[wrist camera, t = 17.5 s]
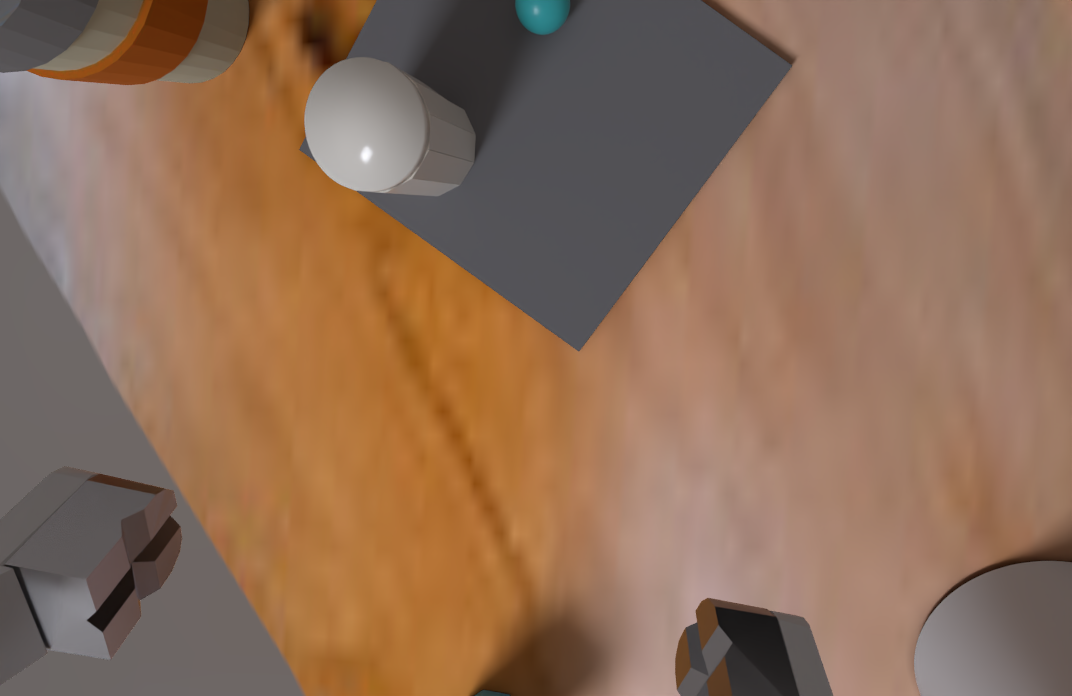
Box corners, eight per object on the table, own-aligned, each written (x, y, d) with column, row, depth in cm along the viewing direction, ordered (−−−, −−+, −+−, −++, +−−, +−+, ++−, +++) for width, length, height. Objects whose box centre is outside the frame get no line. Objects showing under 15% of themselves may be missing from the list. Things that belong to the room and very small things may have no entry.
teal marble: (583, 3, 34) (578, -16, 31) (553, 51, 35) (545, 37, 32) (540, -29, 34) (531, -50, 31) (510, 21, 35) (499, 4, 32)
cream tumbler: (493, 130, 36) (448, 106, 28) (442, 214, 38) (383, 216, 29) (413, 72, 37) (342, 30, 28) (364, 158, 38) (283, 144, 30)
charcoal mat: (790, 67, 34) (792, 65, 33) (579, 349, 39) (578, 351, 39) (467, -164, 34) (465, -169, 33) (303, 150, 39) (299, 149, 39)
